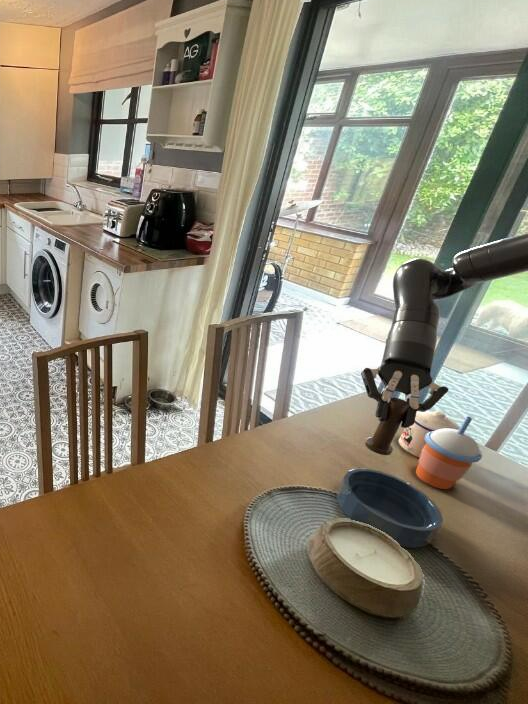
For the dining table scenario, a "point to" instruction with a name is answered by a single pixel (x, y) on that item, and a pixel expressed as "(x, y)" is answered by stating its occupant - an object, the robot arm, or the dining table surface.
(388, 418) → the brown wooden cylinder
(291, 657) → the dining table surface
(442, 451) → the cup with straw
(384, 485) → the bowl
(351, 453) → the dining table surface
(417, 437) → the teacup with lid
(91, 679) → the dining table surface
